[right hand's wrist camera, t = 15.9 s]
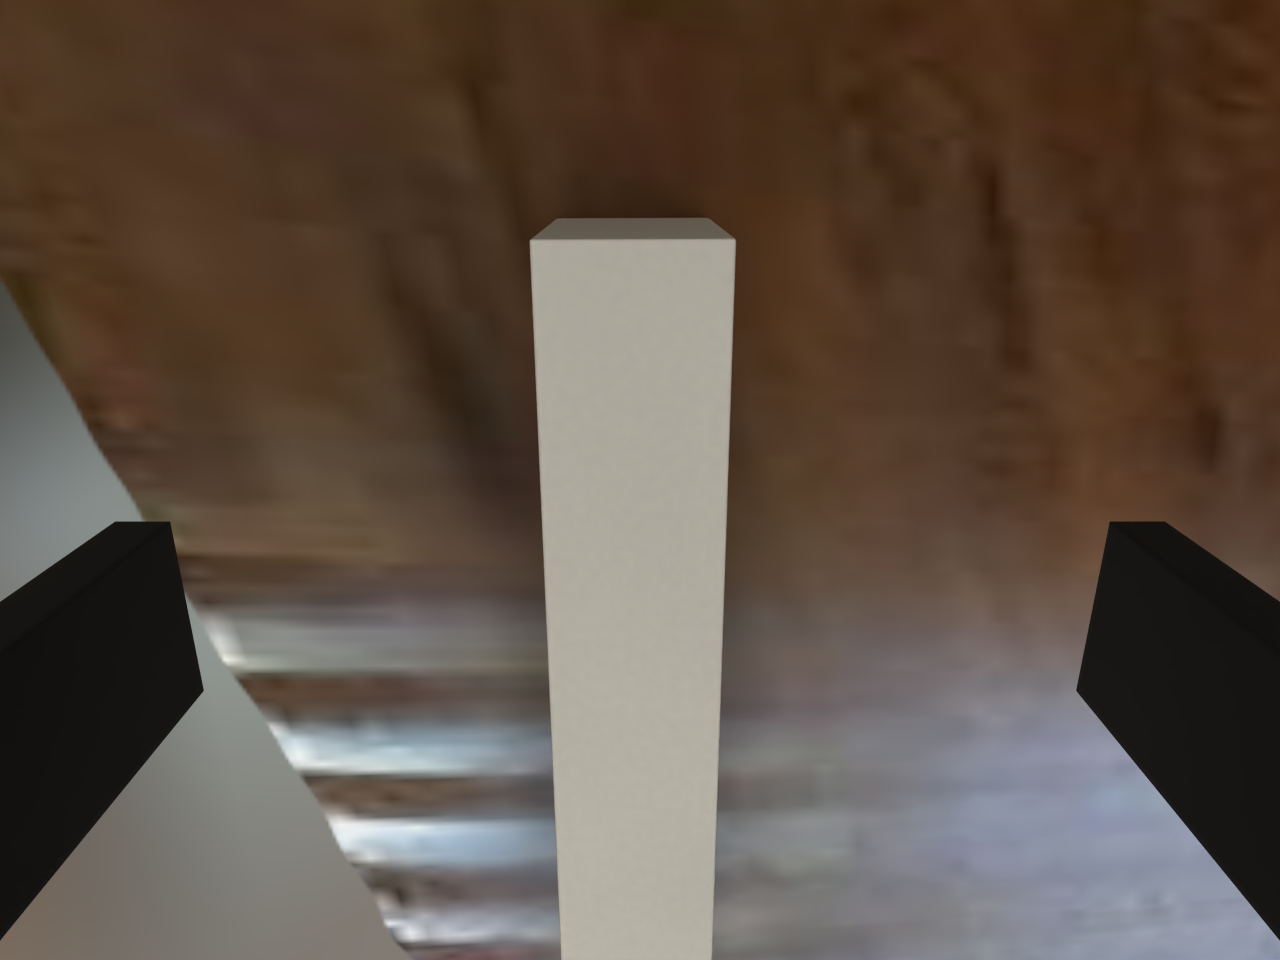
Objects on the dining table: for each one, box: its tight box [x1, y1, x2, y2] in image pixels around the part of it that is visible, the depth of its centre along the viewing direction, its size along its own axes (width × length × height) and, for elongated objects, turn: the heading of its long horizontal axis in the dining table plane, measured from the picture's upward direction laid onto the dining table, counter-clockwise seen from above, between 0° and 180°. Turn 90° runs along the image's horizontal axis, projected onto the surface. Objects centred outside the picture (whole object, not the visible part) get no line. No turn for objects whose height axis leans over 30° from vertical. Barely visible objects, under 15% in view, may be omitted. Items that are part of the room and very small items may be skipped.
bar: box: [530, 218, 736, 960], centre depth 34 cm, size 32×6×9 cm, turn 0°
